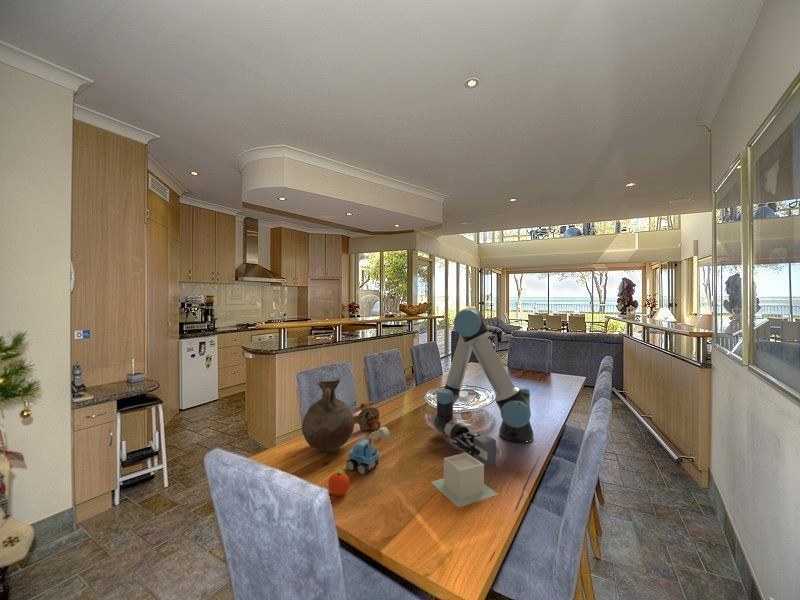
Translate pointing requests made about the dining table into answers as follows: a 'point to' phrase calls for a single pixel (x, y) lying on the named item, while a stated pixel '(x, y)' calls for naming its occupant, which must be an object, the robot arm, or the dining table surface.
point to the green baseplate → (467, 500)
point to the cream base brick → (463, 475)
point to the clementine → (338, 483)
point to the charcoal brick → (486, 449)
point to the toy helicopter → (367, 417)
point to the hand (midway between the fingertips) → (493, 454)
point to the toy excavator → (366, 452)
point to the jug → (328, 421)
